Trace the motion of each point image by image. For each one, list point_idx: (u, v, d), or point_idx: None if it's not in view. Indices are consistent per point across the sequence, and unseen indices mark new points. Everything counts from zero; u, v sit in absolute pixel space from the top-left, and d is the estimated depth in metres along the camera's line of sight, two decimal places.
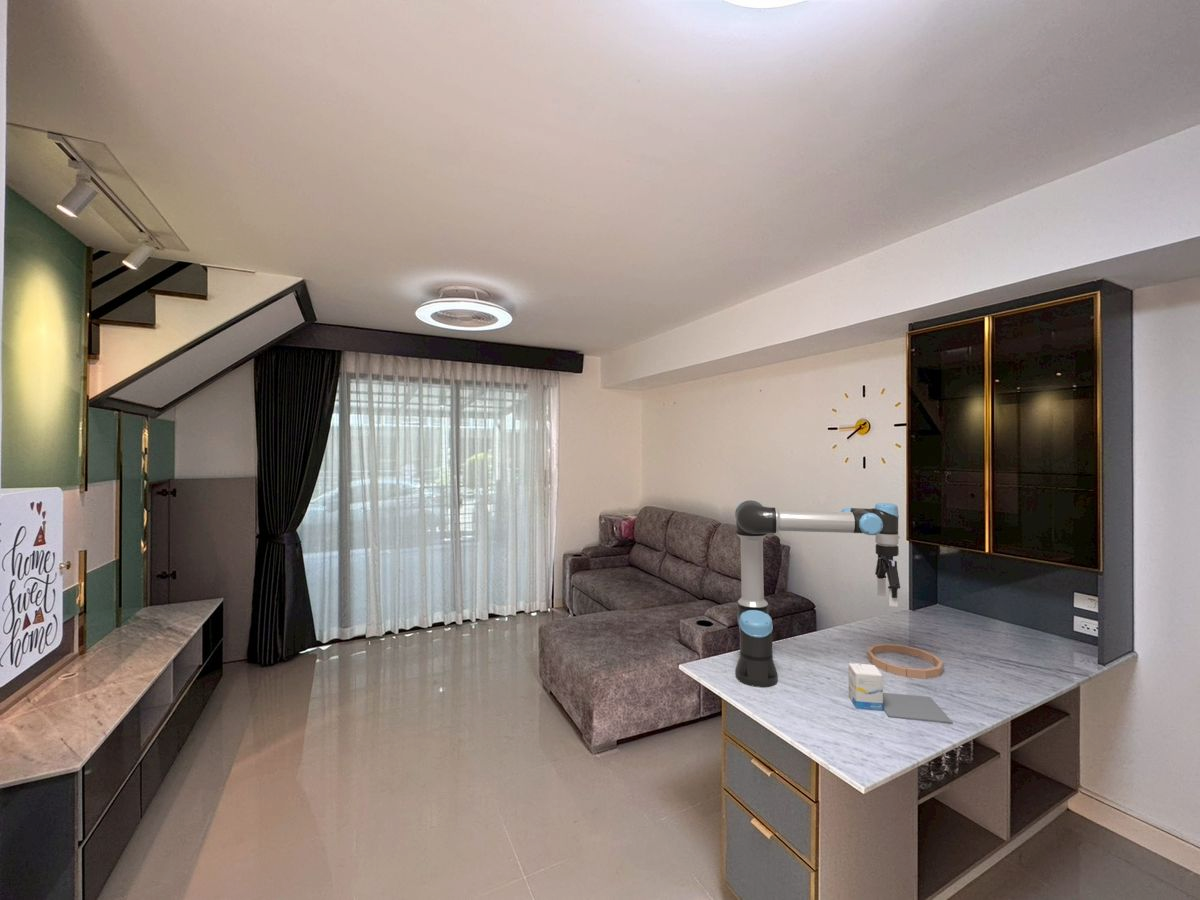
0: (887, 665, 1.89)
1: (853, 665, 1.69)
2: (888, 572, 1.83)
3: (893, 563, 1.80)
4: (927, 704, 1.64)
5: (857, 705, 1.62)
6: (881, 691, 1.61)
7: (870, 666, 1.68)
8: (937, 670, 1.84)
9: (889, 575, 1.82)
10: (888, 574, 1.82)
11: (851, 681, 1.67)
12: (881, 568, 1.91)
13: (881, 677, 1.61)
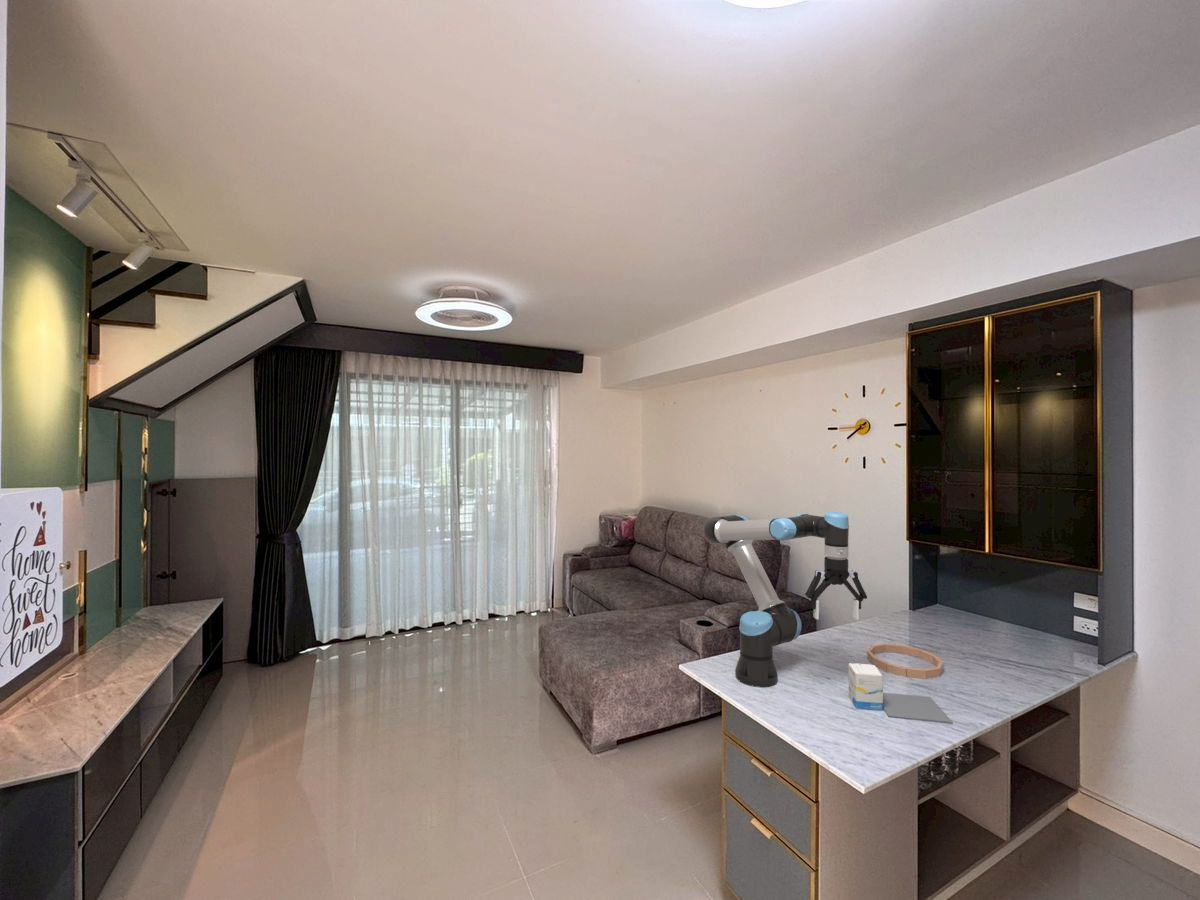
0: (887, 665, 1.89)
1: (853, 665, 1.69)
2: (821, 583, 1.73)
3: (816, 573, 1.72)
4: (927, 704, 1.64)
5: (857, 705, 1.62)
6: (881, 691, 1.61)
7: (870, 666, 1.68)
8: (937, 670, 1.84)
9: (819, 586, 1.73)
10: (819, 585, 1.73)
11: (851, 681, 1.67)
12: (845, 585, 1.73)
13: (881, 677, 1.61)
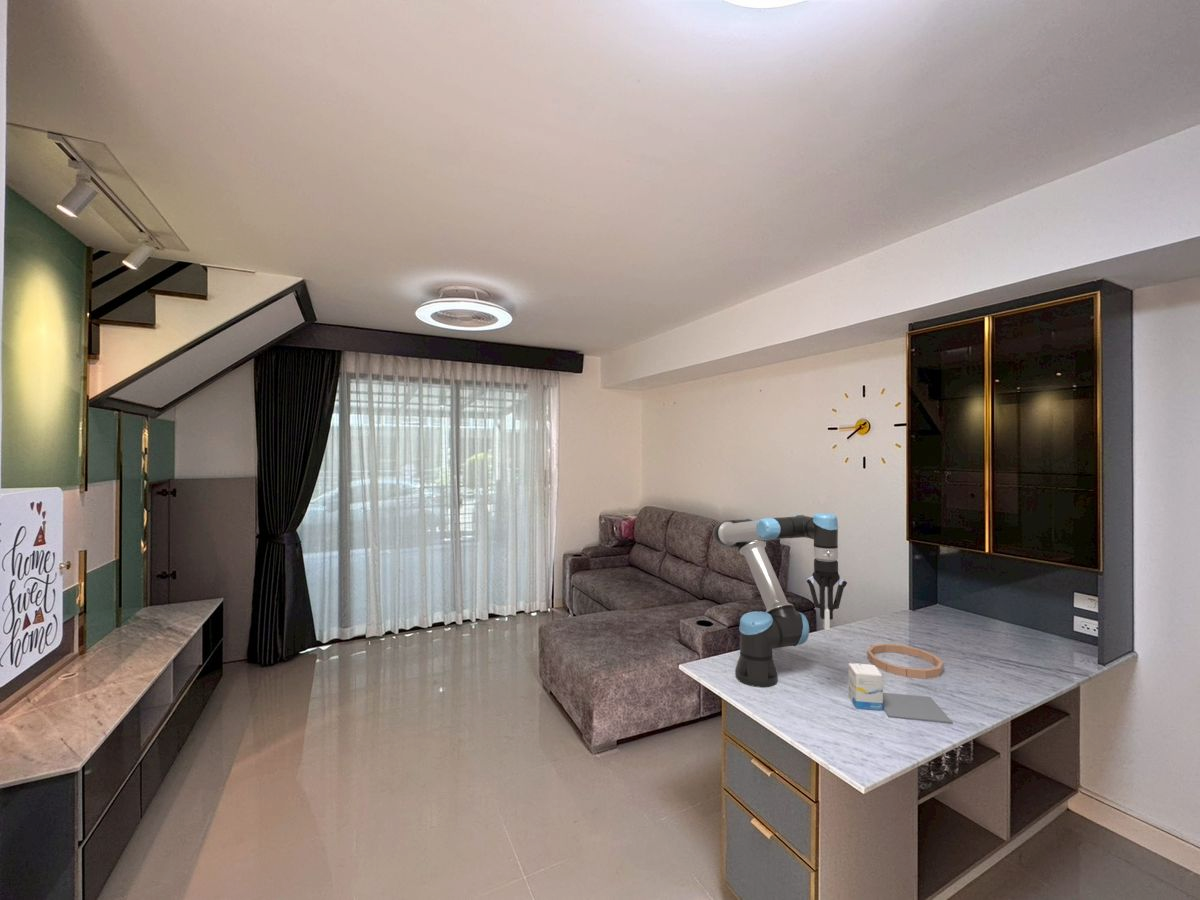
0: (887, 665, 1.89)
1: (853, 665, 1.69)
2: (819, 590, 1.70)
3: (807, 582, 1.70)
4: (927, 704, 1.64)
5: (857, 705, 1.62)
6: (881, 691, 1.61)
7: (870, 666, 1.68)
8: (937, 670, 1.84)
9: (819, 594, 1.70)
10: (819, 592, 1.70)
11: (851, 681, 1.67)
12: (827, 590, 1.69)
13: (881, 677, 1.61)
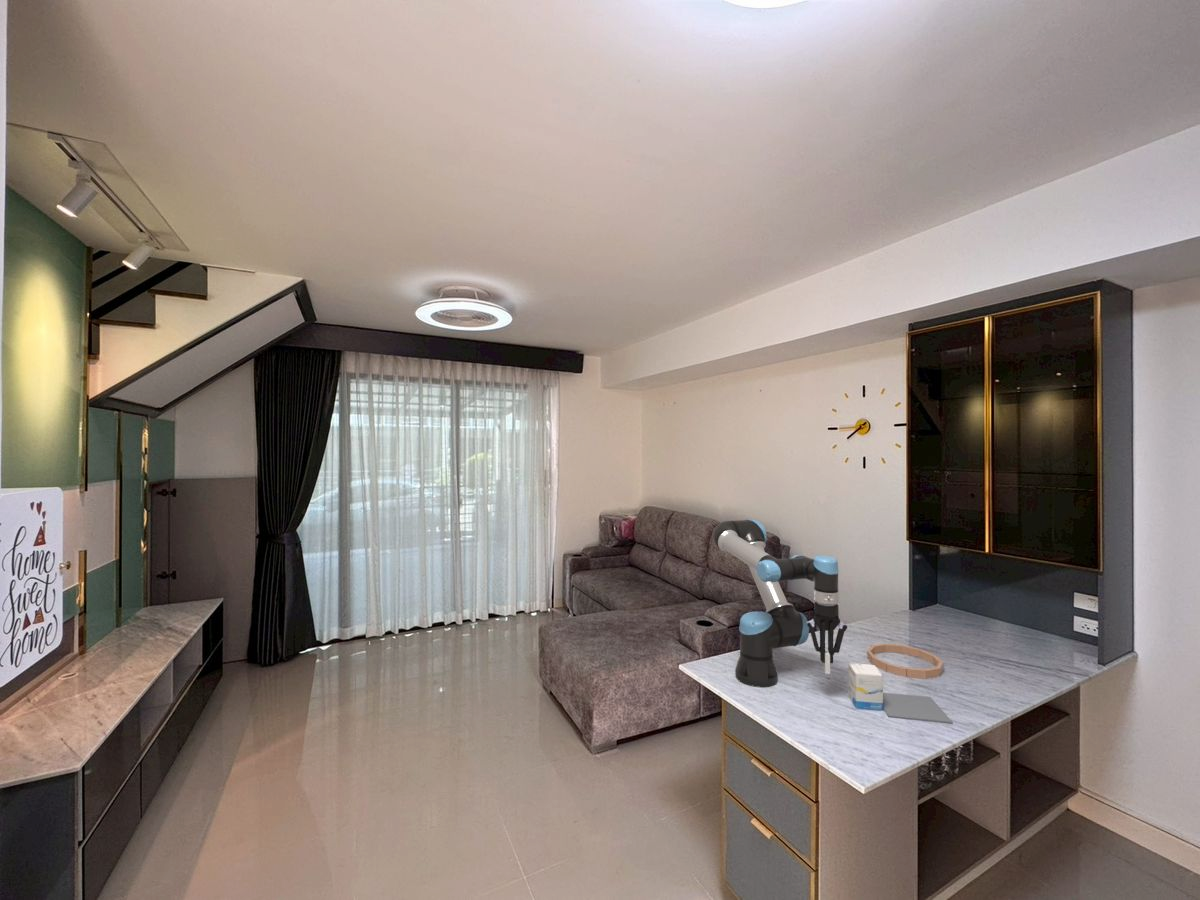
0: (887, 665, 1.89)
1: (853, 665, 1.69)
2: None
3: (807, 625, 1.70)
4: (927, 704, 1.64)
5: (857, 705, 1.62)
6: (881, 691, 1.61)
7: (870, 666, 1.68)
8: (937, 670, 1.84)
9: (820, 637, 1.70)
10: (820, 635, 1.70)
11: (851, 681, 1.67)
12: (828, 633, 1.69)
13: (881, 677, 1.61)
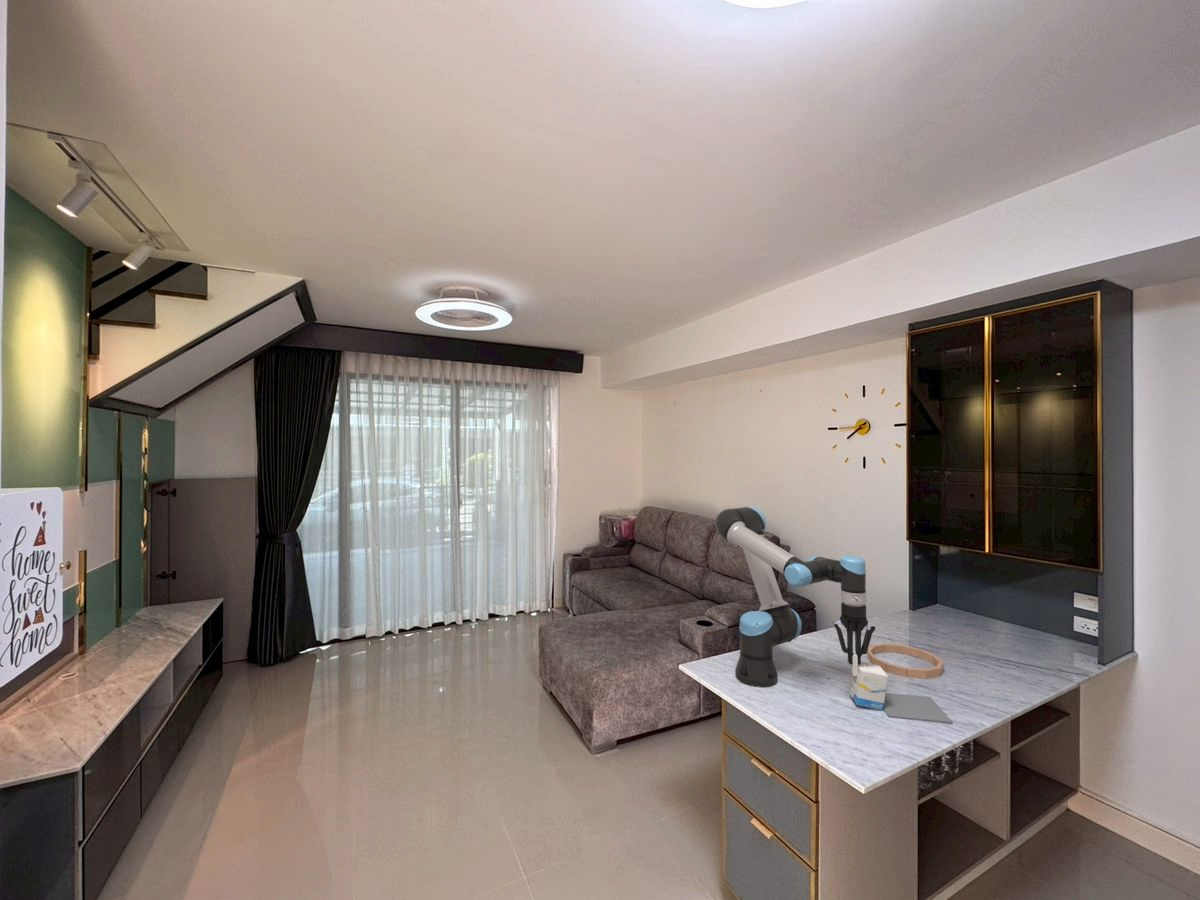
0: (887, 665, 1.89)
1: None
2: (847, 634, 1.68)
3: None
4: (927, 704, 1.64)
5: (858, 702, 1.62)
6: (884, 691, 1.61)
7: (875, 666, 1.67)
8: (937, 670, 1.84)
9: (847, 638, 1.67)
10: (847, 637, 1.68)
11: (854, 678, 1.67)
12: (855, 634, 1.67)
13: (886, 677, 1.61)
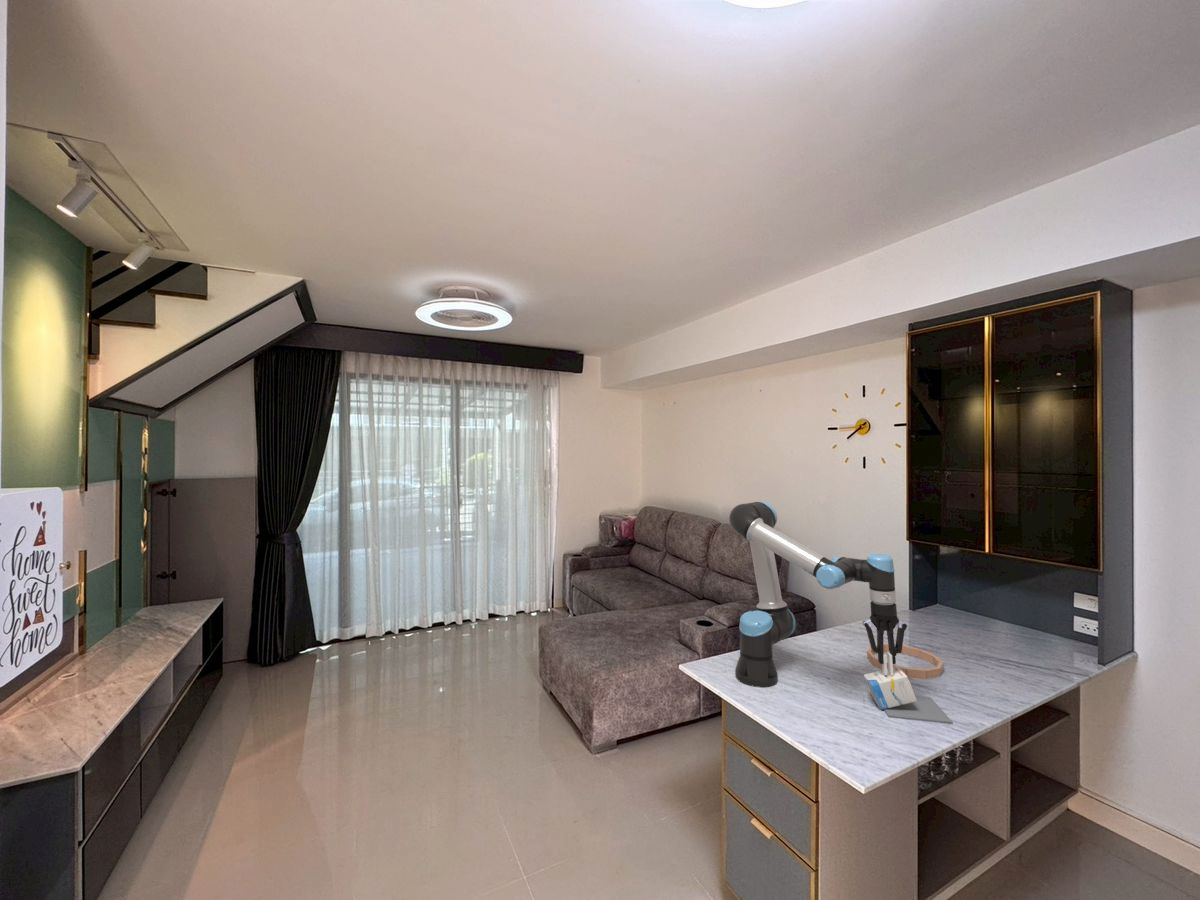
0: (887, 665, 1.89)
1: None
2: (877, 634, 1.66)
3: (864, 625, 1.66)
4: (927, 704, 1.64)
5: (874, 686, 1.61)
6: (900, 703, 1.60)
7: None
8: (937, 670, 1.84)
9: (877, 637, 1.65)
10: (877, 636, 1.66)
11: (887, 674, 1.65)
12: (887, 633, 1.65)
13: (914, 700, 1.59)
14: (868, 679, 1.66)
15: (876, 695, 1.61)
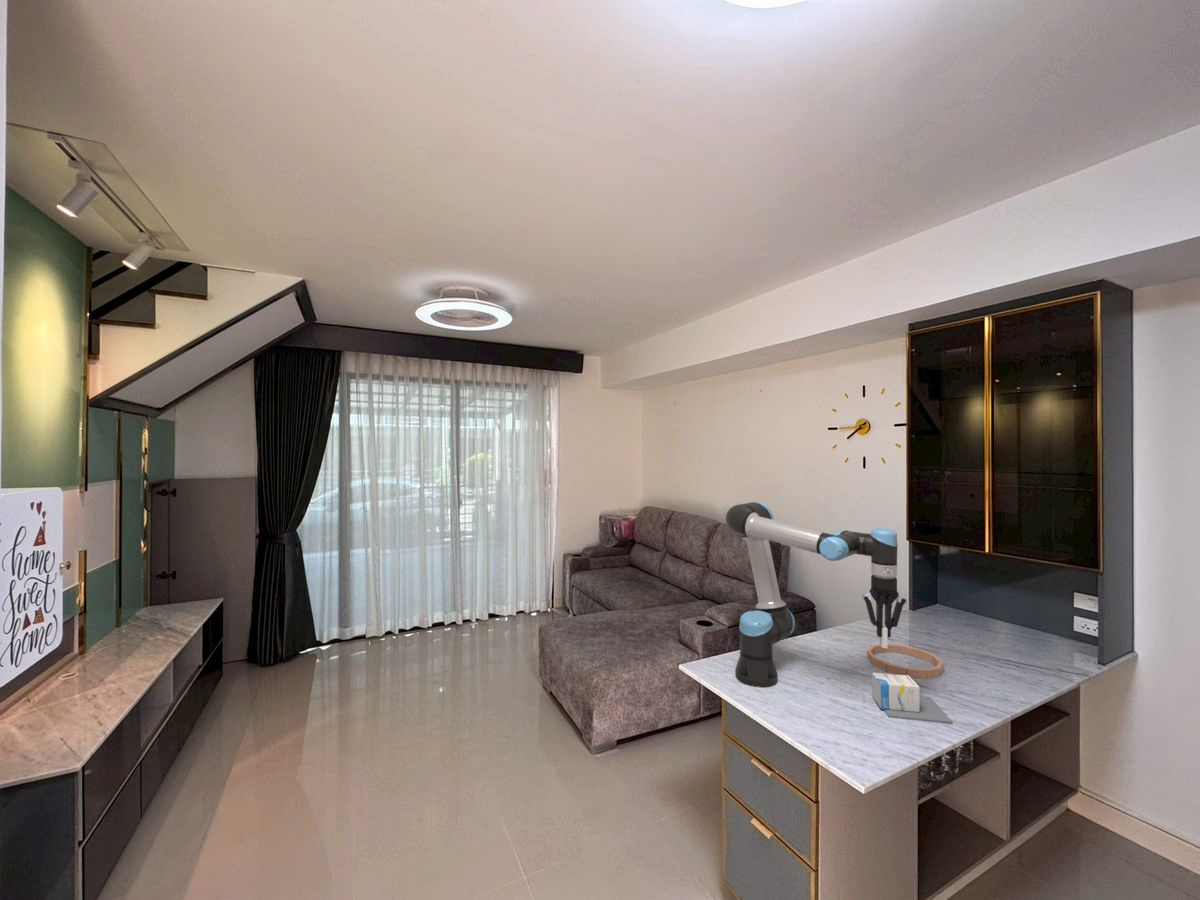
0: (887, 665, 1.89)
1: None
2: (876, 607, 1.66)
3: (864, 598, 1.66)
4: (927, 704, 1.64)
5: (884, 685, 1.61)
6: (901, 709, 1.60)
7: None
8: (937, 670, 1.84)
9: (876, 611, 1.66)
10: (876, 609, 1.66)
11: (898, 679, 1.64)
12: (885, 607, 1.65)
13: (917, 711, 1.59)
14: (877, 677, 1.65)
15: (882, 694, 1.61)
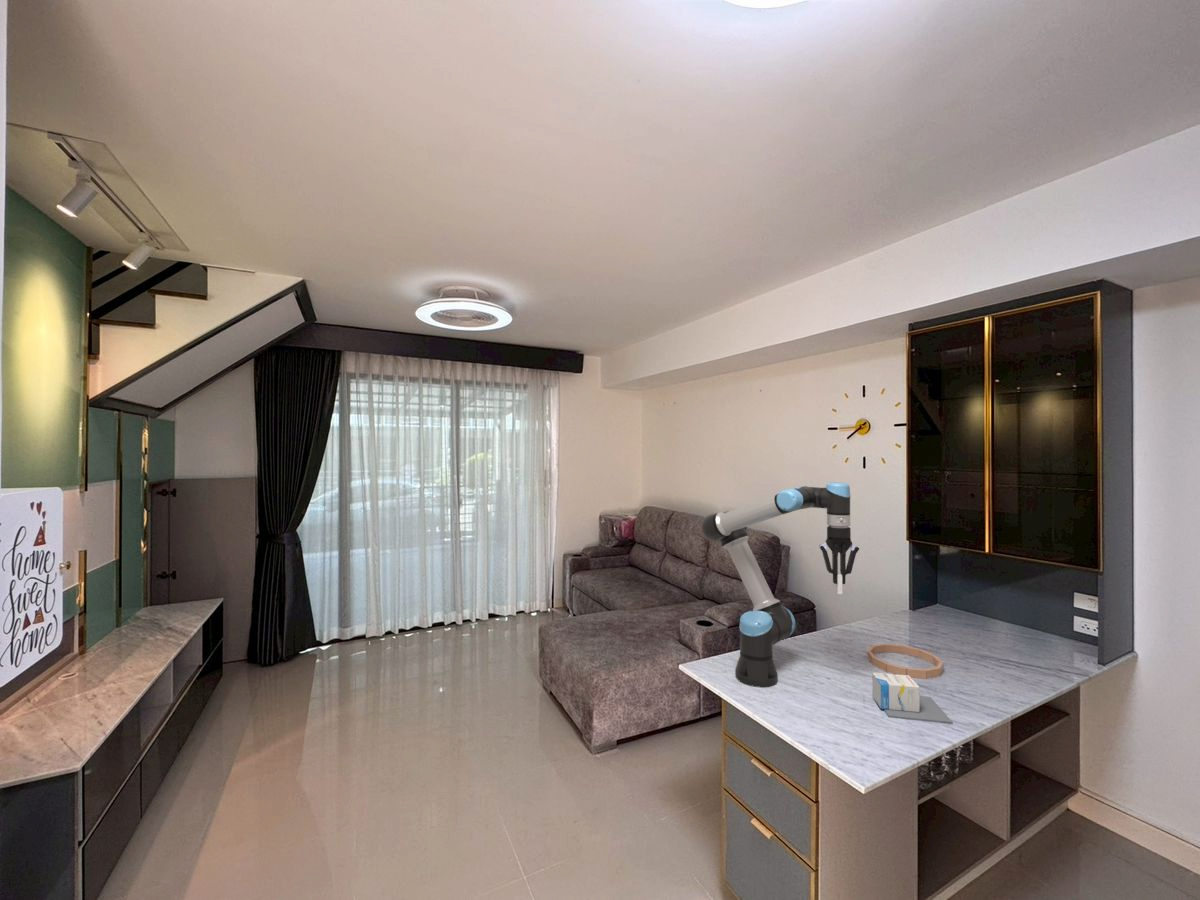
0: (887, 665, 1.89)
1: None
2: (832, 556, 1.76)
3: (820, 548, 1.76)
4: (927, 704, 1.64)
5: (884, 685, 1.61)
6: (901, 709, 1.60)
7: None
8: (937, 670, 1.84)
9: (832, 560, 1.76)
10: (832, 558, 1.76)
11: (898, 679, 1.64)
12: (840, 556, 1.76)
13: (917, 711, 1.59)
14: (877, 678, 1.65)
15: (882, 694, 1.61)
